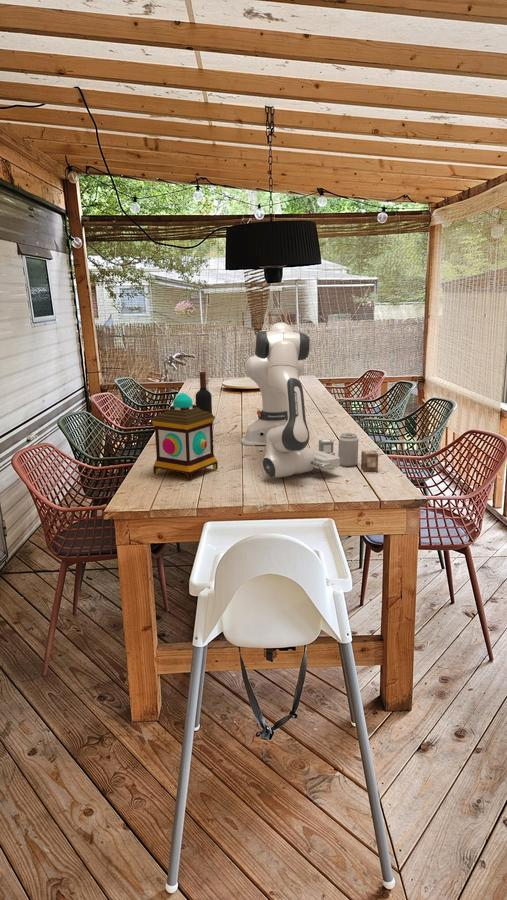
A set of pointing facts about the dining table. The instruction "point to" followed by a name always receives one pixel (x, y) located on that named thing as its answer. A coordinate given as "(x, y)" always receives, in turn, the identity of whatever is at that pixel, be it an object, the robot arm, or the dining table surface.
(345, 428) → the dining table surface
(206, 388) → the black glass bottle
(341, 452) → the can
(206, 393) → the wine bottle
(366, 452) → the walnut block
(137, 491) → the dining table surface
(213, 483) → the dining table surface
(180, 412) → the decorative lantern
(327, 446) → the slate block
